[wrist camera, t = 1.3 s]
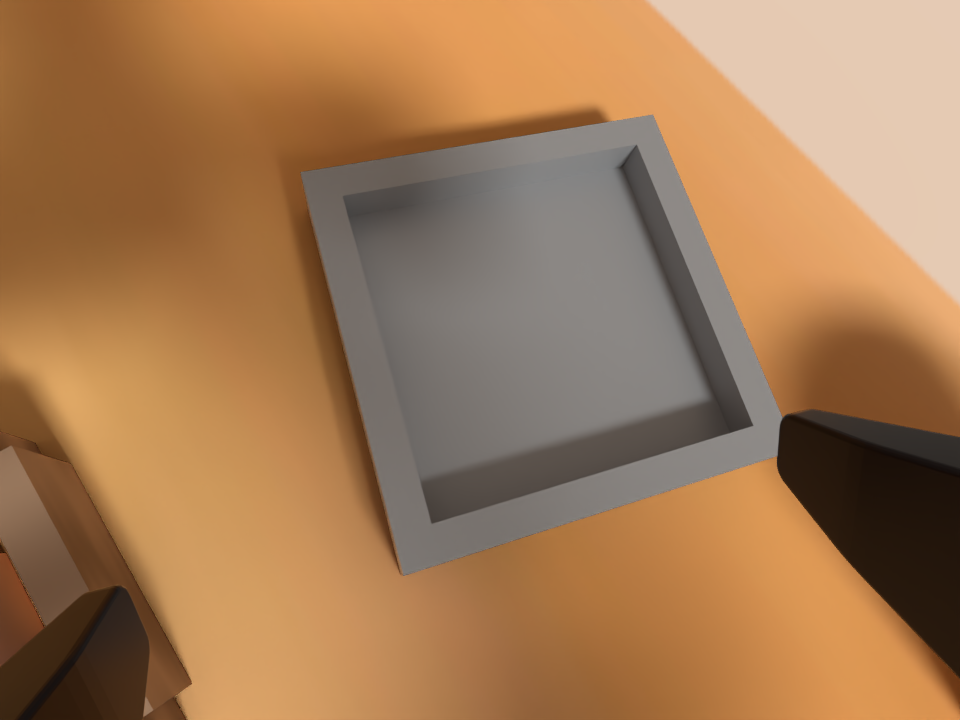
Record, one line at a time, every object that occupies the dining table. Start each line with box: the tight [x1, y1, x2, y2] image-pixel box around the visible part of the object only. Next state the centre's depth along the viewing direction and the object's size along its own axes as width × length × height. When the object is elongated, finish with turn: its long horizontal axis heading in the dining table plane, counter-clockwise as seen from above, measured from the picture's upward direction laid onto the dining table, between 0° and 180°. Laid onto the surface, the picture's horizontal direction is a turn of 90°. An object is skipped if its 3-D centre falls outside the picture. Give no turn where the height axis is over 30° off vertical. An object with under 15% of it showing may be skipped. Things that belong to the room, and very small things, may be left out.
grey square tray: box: [300, 115, 783, 576], centre depth 23 cm, size 14×14×2 cm
